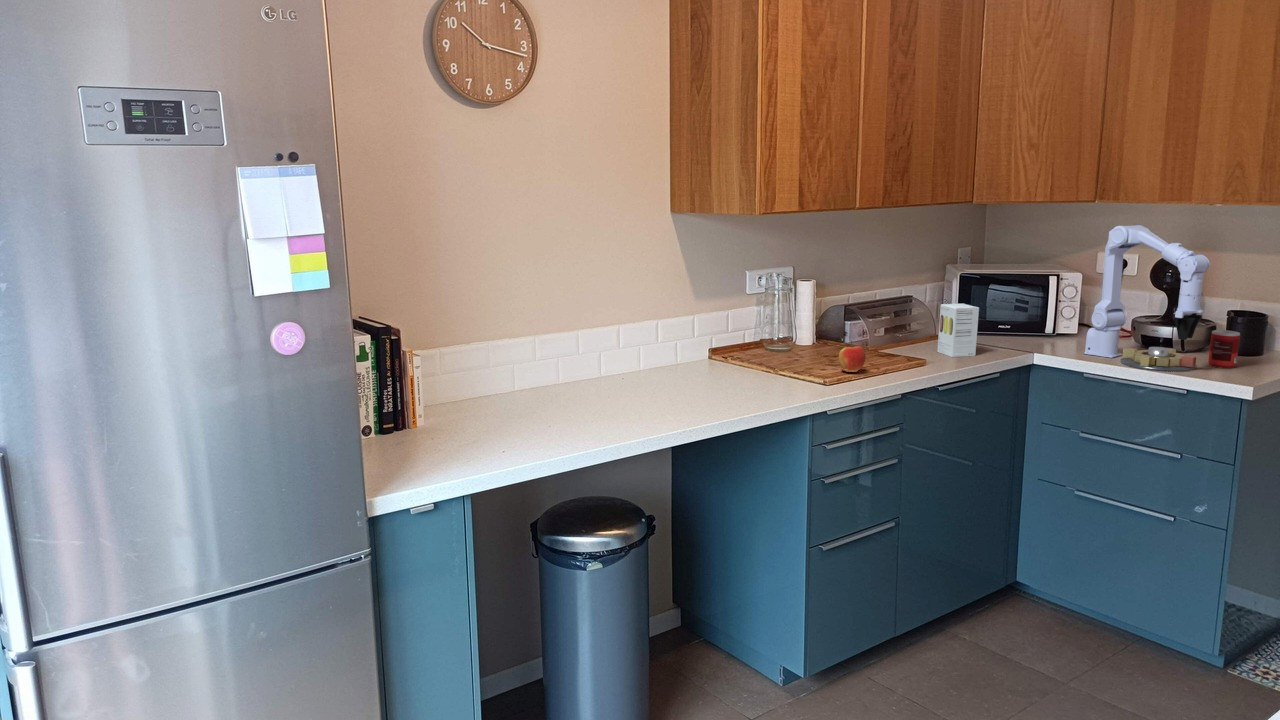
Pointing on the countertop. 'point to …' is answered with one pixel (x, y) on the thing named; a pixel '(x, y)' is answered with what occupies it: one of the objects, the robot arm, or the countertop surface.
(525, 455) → the countertop surface
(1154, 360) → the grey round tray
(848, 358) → the apple
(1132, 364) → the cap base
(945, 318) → the supplement box
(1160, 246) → the robot arm
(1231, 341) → the canned food
